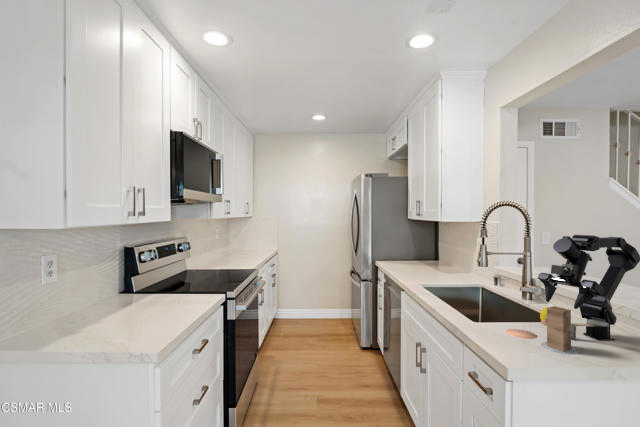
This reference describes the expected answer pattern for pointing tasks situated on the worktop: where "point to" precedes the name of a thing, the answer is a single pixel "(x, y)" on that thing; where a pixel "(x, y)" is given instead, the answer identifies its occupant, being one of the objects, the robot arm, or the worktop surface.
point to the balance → (589, 323)
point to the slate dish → (571, 351)
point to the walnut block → (559, 328)
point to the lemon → (543, 314)
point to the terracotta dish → (521, 333)
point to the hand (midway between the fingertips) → (560, 304)
